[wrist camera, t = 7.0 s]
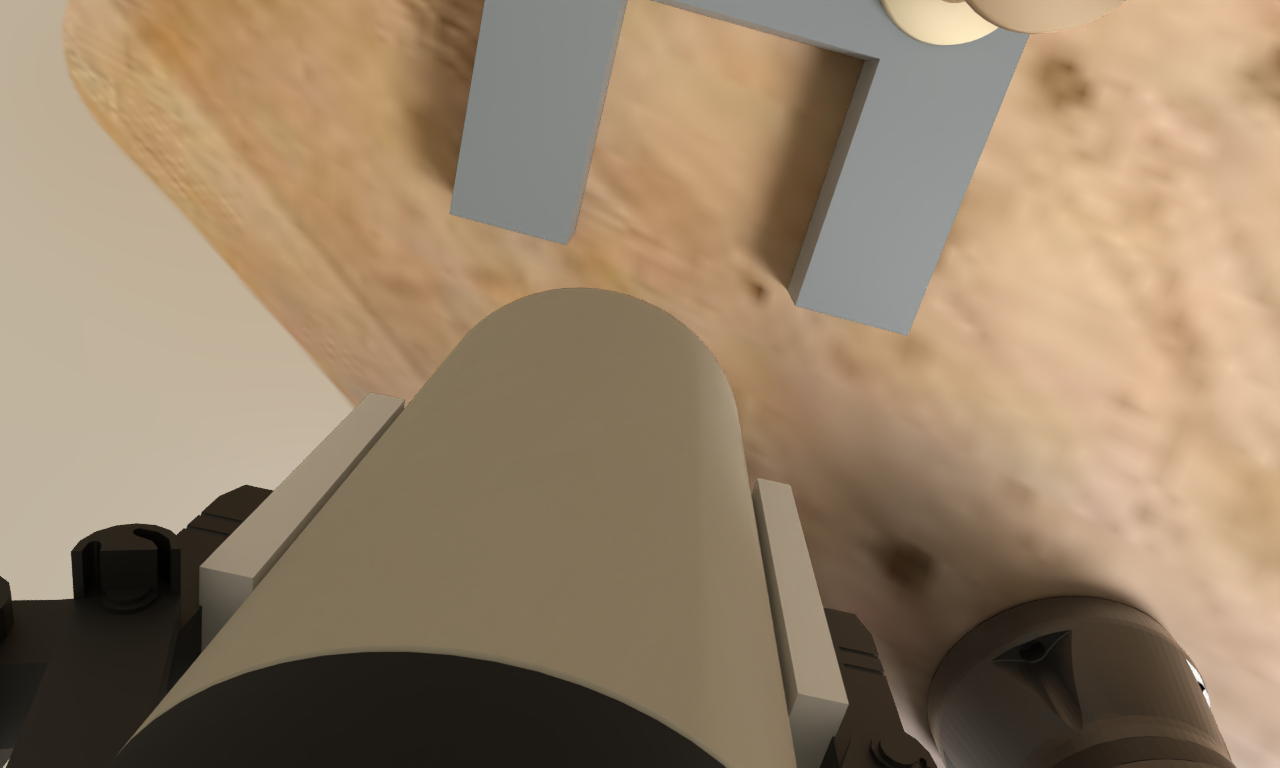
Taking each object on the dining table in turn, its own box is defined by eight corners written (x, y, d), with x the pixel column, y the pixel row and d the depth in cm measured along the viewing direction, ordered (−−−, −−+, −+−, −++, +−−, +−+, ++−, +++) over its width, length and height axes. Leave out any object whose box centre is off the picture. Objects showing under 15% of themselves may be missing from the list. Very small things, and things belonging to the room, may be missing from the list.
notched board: (891, 317, 40) (907, 335, 37) (466, 204, 39) (449, 214, 36) (1047, -79, 33) (1080, -93, 30) (540, -227, 32) (526, -257, 29)
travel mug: (760, 302, 19) (1307, 1868, 2) (716, 574, 22) (825, 2131, 5) (437, 266, 19) (-1203, 1549, 2) (436, 542, 22) (-323, 1984, 5)
